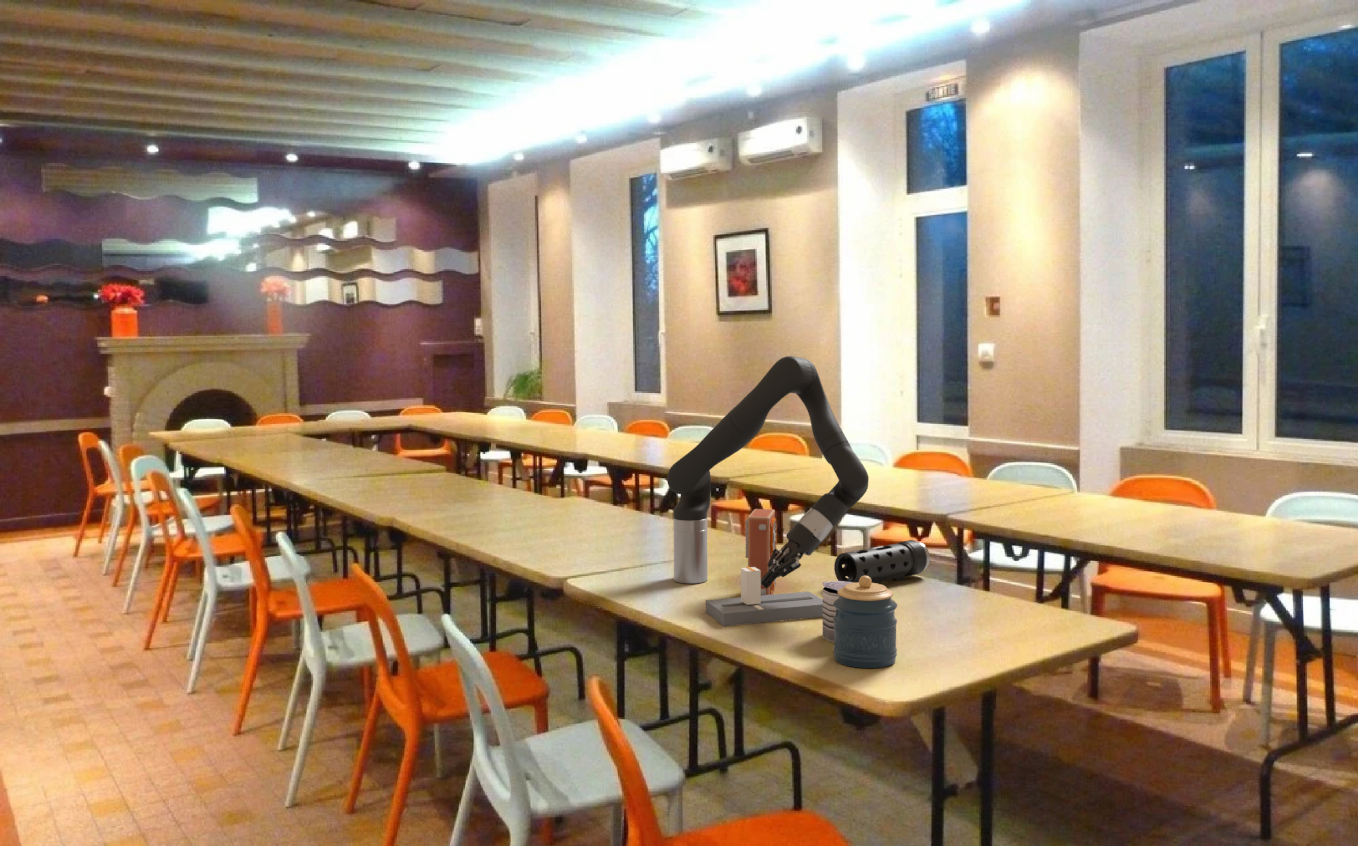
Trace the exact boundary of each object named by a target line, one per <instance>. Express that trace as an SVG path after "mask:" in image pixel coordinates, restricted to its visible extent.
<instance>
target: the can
mask: <svg viewBox="0 0 1358 846" xmlns="http://www.w3.org/2000/svg"><path fill="white" fill-rule="evenodd" d="M850 583H855V582H845V581H838V580H832V581H822V586H823V588H822V599H823V617H822V638H823V637H824V638H825V639H824V638H823V639H824V640H826V641H827V640H828V641H827V642H829V641H830V643H833V642H834V620H833V619H834V616H836V607H835V606H834V604H833V603H834V601H835V600H836V599H838V598H839V595H838V590H839V589H841V588H843V587H844V586H845V585H847V584H850Z"/></svg>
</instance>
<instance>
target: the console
mask: <svg viewBox="0 0 1358 846" xmlns="http://www.w3.org/2000/svg"><path fill="white" fill-rule="evenodd" d="M705 613H706V614H707V615H708V616H710V617H711V618H712V619H713V620H715V621H716V622H718V623H719V624H721V626H723V627H727V626H728V627H729V626H730V625H731V626H739V625H749V624H751V623H752V624H759V623H758V622H763V623H772V622H780V621H781V620H784V621H794V620H793V619H795V620H801V619H800V618H805V619H815V618H823V598H821V597H819V596H817V595H815V594H814V593H812V592H810V591H797V592H796V591H795V592H786V593H773V594H772V595H761V604H751V605H746V604H745V603H743V602H742V601H741V596H739V597H727V598H726V597H725V598H717V599H715V598H714V599H705ZM790 619H791V620H790ZM752 624H751V625H752Z"/></svg>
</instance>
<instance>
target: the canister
mask: <svg viewBox="0 0 1358 846" xmlns="http://www.w3.org/2000/svg"><path fill="white" fill-rule="evenodd" d="M838 595H839V598H838V599H836V600H835V601H834V603H833V604H834V606H835V607H836V616H834V619H833V620H834V643H833V647H832V648H833V651H832V652H833V655H834V656H833V657H834V660H835V661H836V662H837V663H839V664H842V665H843V666H848V667H852V668H859V669H860V668H861V669H878V668H884V667H888V666H892V665H893V664H894V663H896V661H897V660H896V658H897V655H898V649H897V623H898V619H897V618H896V615H895V610H896V609H897V608H898V603H897V602H896V601H895V600H893V598H892V597H893V596H894V592H893V591H892V590H890V589H889V588H887V587H886V586H885V585H884V584H878V583H872V581H871V578H870V577H869V576H862V577H861V578H860V579H859V582H857V583H850V584H847V585H845V586H844V587H843V588H841V589H839V590H838Z"/></svg>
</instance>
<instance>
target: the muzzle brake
mask: <svg viewBox="0 0 1358 846" xmlns="http://www.w3.org/2000/svg"><path fill="white" fill-rule="evenodd" d="M930 559H931V557H930V552H929V549H928V547H927V546H926V544H924V543H923V542H921V541H917V540H914V539H910V540H904V541H899V542H897V543H894V544H888V545H887V544H886V545H881V546H875V547H869V548H863V549H859V550H854V551H847V552H842V553H839V554H838V555H837V556H836V558H835V560H834V563H833V564H834V565H833V567H834V568H833V570H834V574H835V578H836V580H837V581H845V582H855V583H857V582H859V579H860V578H861V577H862V576H869V577H870V578H871V581H872V583H877V584H881V583H882V582H884V581H889V580H892V581H895V582H899V581H903V580H906V579H905V578H906V577H911V576H916V575H919V574H921V573H922V572H924V570H926V569H927V568H928V567H929V564H930ZM881 585H882V584H881Z"/></svg>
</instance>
